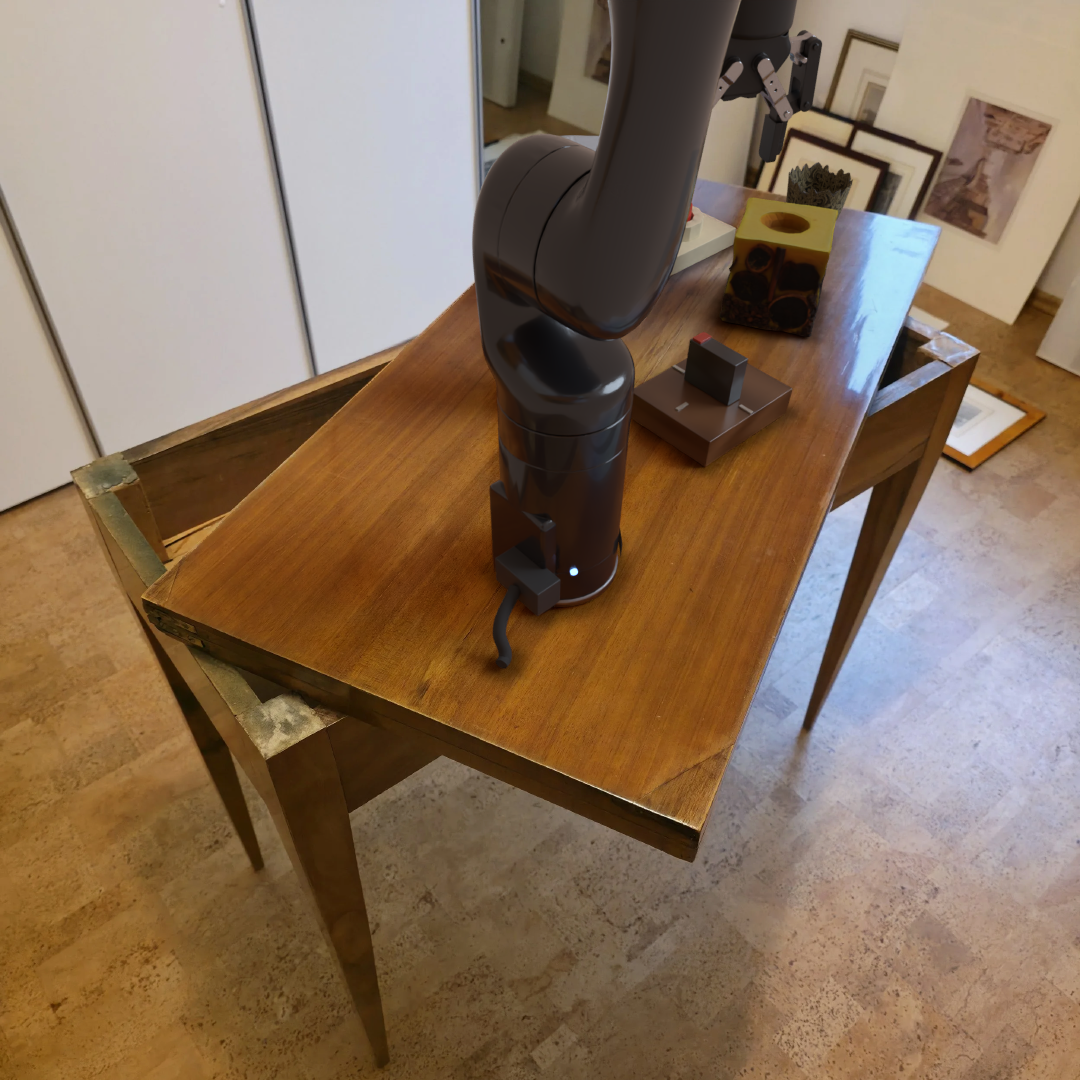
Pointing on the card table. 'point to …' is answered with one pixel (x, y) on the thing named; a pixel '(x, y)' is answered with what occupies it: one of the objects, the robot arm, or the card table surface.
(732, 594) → the card table surface
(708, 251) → the kettle base
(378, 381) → the card table surface
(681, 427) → the dial panel
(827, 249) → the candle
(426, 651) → the card table surface
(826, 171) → the cup
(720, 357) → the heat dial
